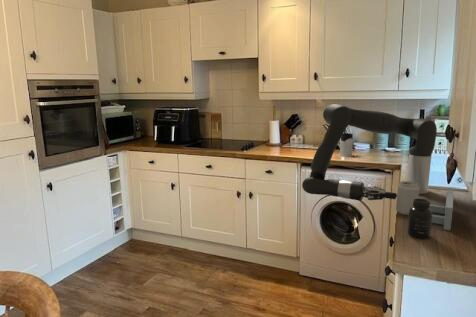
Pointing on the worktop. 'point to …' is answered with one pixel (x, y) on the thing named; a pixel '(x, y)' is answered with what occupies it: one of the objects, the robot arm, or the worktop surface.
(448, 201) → the stop bay
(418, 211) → the supplement bottle
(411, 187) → the can
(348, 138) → the glass holder
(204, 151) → the worktop surface
